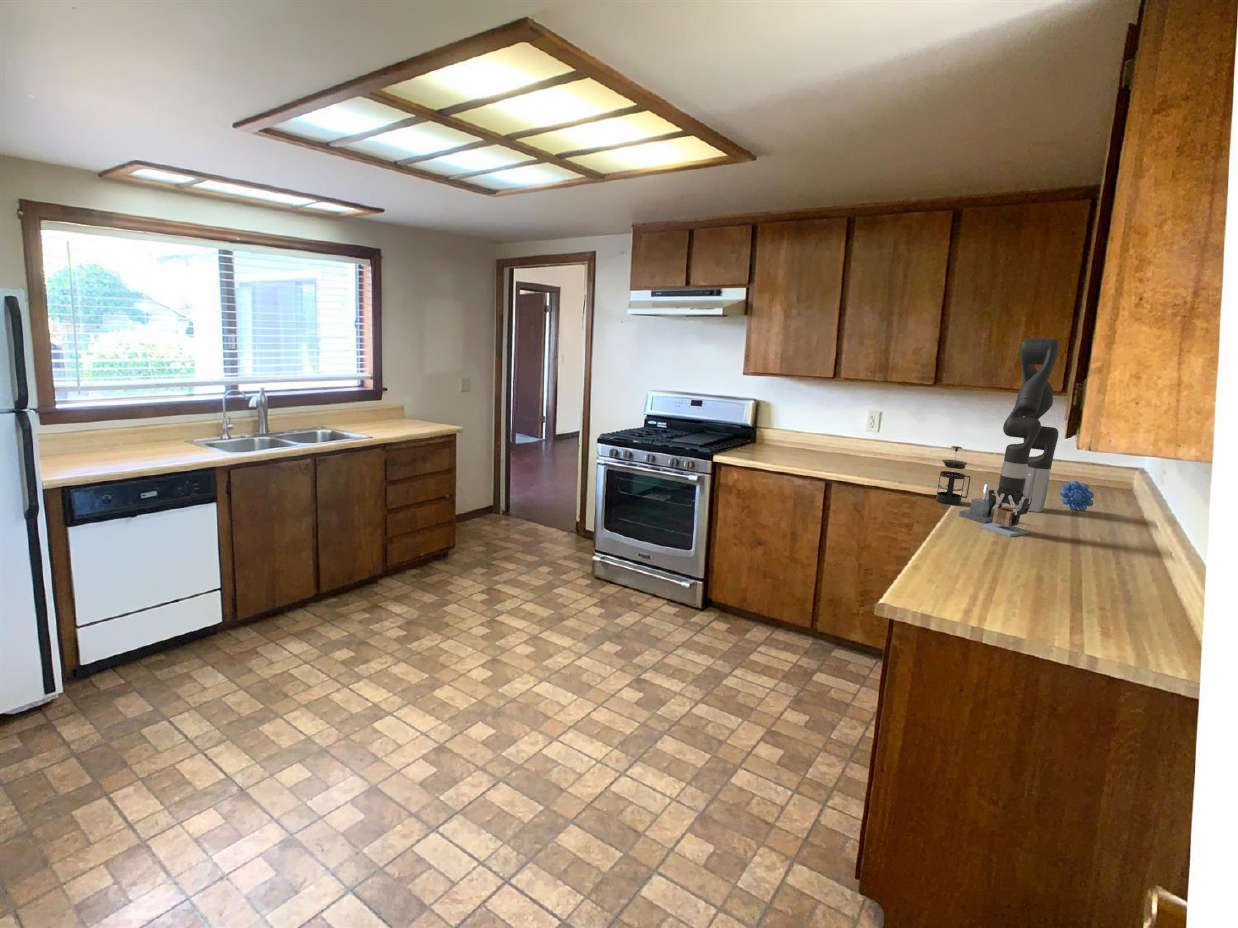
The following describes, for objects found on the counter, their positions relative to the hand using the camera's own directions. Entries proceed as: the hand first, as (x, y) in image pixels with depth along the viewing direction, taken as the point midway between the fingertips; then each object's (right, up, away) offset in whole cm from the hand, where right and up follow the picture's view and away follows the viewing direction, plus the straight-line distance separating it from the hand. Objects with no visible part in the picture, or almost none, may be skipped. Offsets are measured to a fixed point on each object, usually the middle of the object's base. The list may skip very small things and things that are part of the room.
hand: (1005, 522), depth 221 cm
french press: (0, +4, +37) cm, 38 cm away
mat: (0, -3, 0) cm, 3 cm away
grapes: (+48, +1, +34) cm, 59 cm away
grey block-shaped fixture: (+1, 0, +15) cm, 16 cm away
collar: (0, -1, 0) cm, 1 cm away
